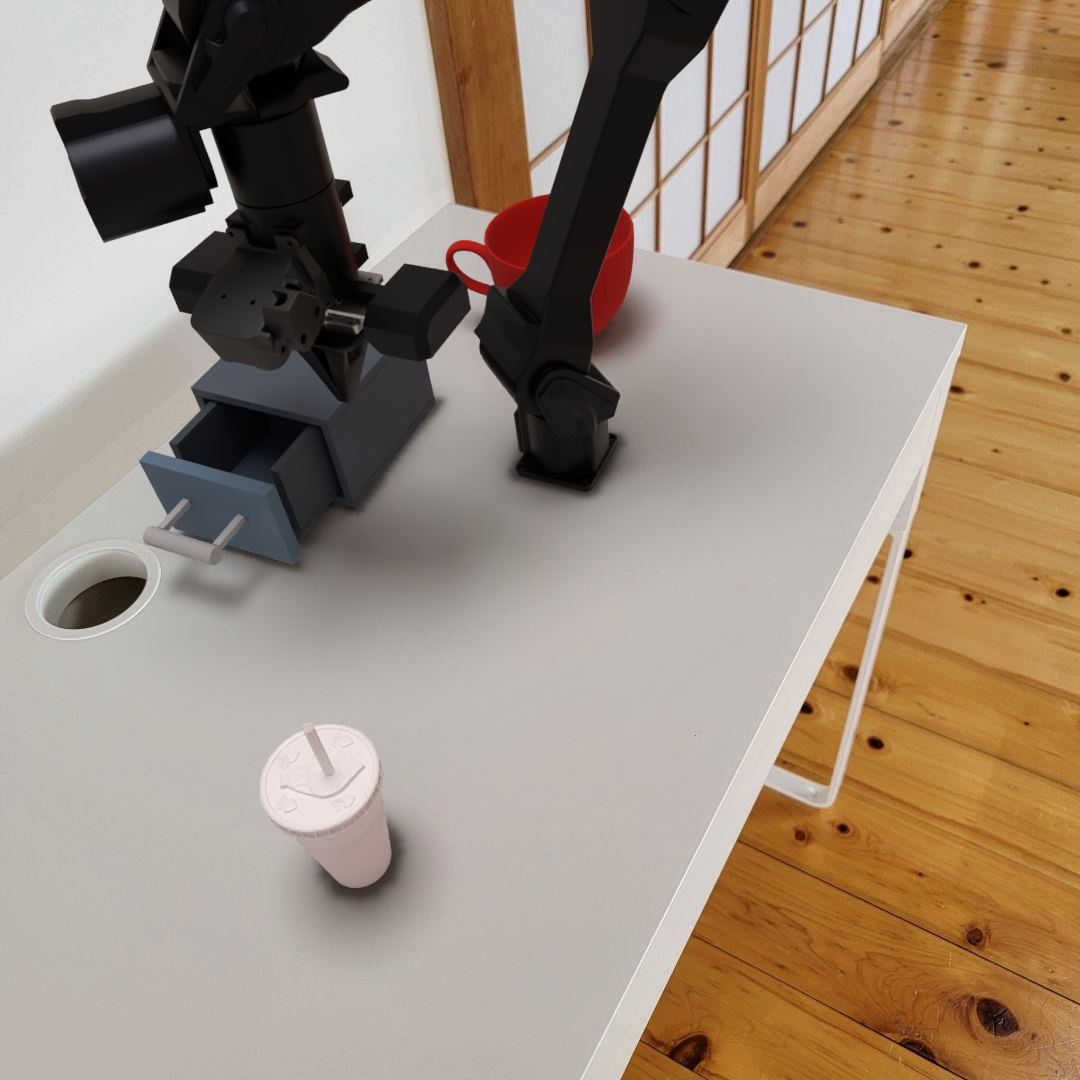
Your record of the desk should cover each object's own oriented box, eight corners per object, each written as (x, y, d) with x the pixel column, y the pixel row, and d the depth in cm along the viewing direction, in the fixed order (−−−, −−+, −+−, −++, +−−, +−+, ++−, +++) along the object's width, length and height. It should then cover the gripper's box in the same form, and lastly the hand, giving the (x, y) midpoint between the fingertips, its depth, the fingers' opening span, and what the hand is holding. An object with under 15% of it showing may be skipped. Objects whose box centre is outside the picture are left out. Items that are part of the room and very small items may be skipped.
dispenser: (355, 508, 79) (327, 420, 72) (228, 473, 83) (190, 387, 77) (436, 403, 87) (417, 315, 80) (316, 376, 91) (288, 290, 85)
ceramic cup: (470, 287, 99) (454, 193, 92) (641, 287, 96) (639, 190, 89) (444, 368, 90) (424, 272, 83) (631, 370, 87) (627, 271, 80)
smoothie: (417, 899, 57) (363, 775, 46) (305, 920, 56) (226, 800, 46) (410, 799, 61) (359, 665, 51) (306, 818, 61) (234, 687, 51)
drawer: (259, 610, 71) (226, 541, 66) (136, 570, 75) (96, 501, 70) (378, 457, 81) (358, 386, 76) (265, 428, 85) (238, 359, 80)
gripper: (60, 233, 54) (165, 446, 66) (348, 287, 48) (409, 512, 60) (186, 140, 61) (262, 348, 72) (454, 176, 55) (490, 398, 66)
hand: (348, 399), depth 67 cm, fingers closed
